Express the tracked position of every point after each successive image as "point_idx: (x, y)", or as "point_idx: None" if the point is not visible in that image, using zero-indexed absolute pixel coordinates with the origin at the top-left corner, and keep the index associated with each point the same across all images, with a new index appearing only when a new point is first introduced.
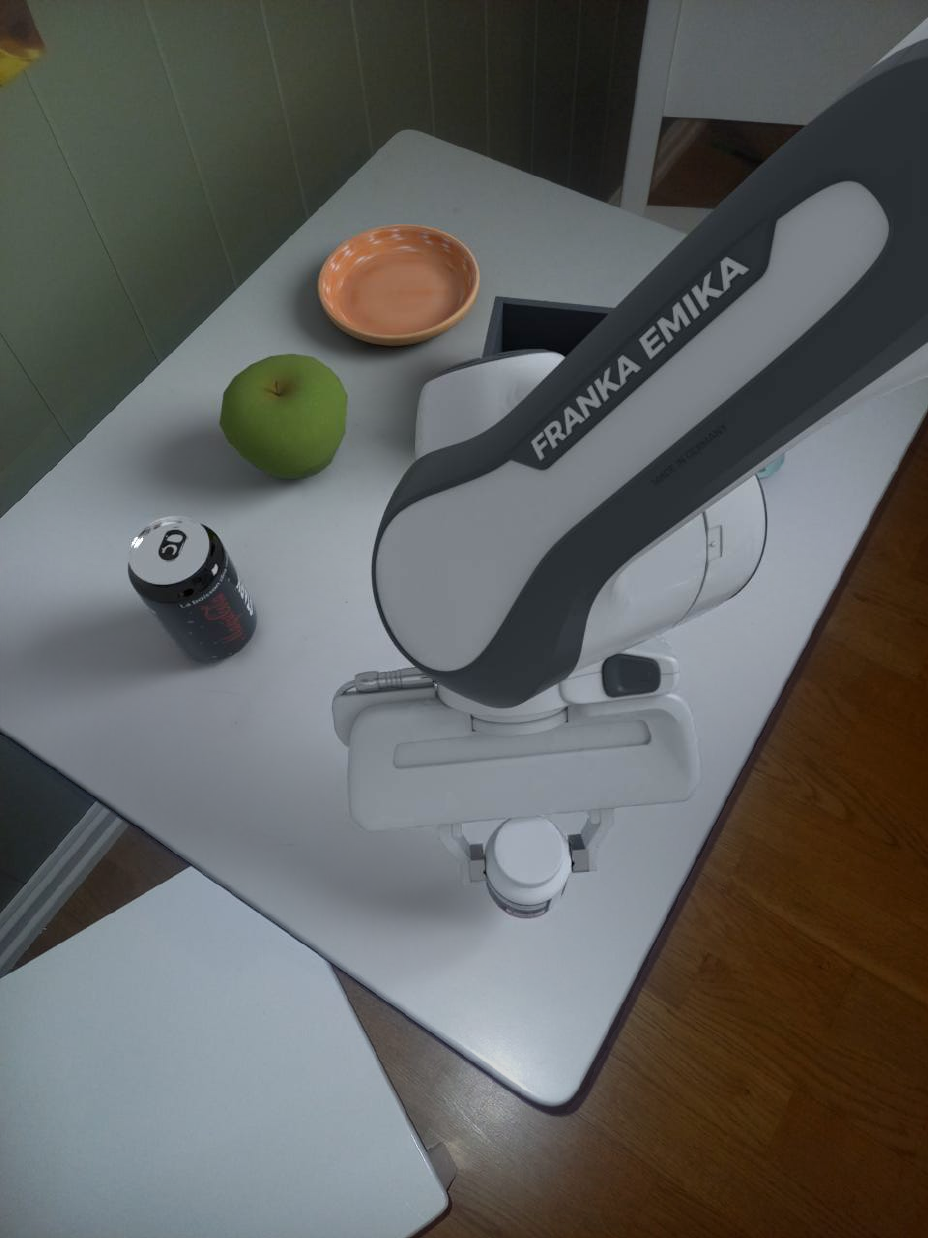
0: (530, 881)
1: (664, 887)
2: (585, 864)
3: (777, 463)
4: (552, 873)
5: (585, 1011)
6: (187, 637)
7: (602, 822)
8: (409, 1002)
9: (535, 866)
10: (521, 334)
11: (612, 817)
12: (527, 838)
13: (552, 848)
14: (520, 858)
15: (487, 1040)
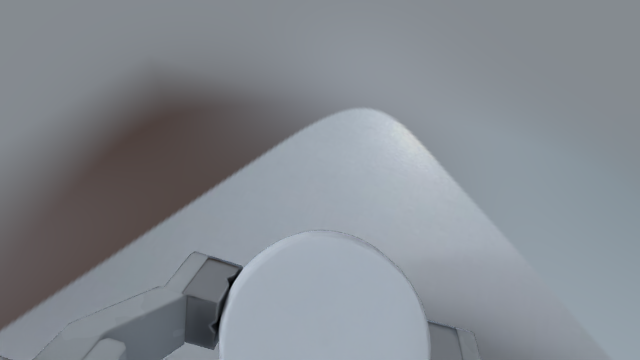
0: (356, 246)
1: (144, 245)
2: (207, 269)
3: None
4: (290, 245)
5: (304, 154)
6: None
7: (95, 336)
8: (500, 234)
9: (327, 281)
10: None
11: (57, 338)
12: None
13: (259, 312)
14: (361, 320)
15: (420, 166)
